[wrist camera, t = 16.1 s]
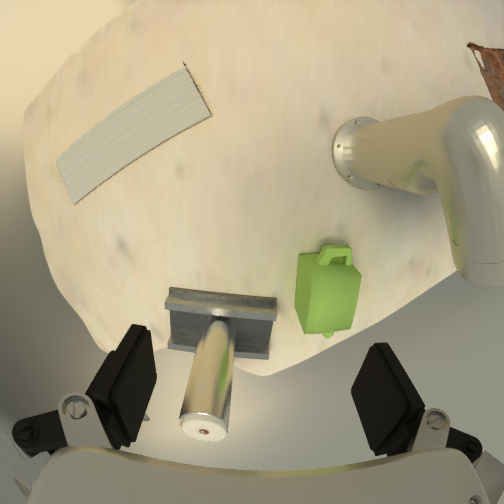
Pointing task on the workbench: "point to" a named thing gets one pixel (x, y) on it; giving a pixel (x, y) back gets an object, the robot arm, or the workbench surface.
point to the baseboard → (131, 132)
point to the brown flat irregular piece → (492, 71)
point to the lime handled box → (327, 290)
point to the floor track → (221, 304)
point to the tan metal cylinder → (210, 381)
